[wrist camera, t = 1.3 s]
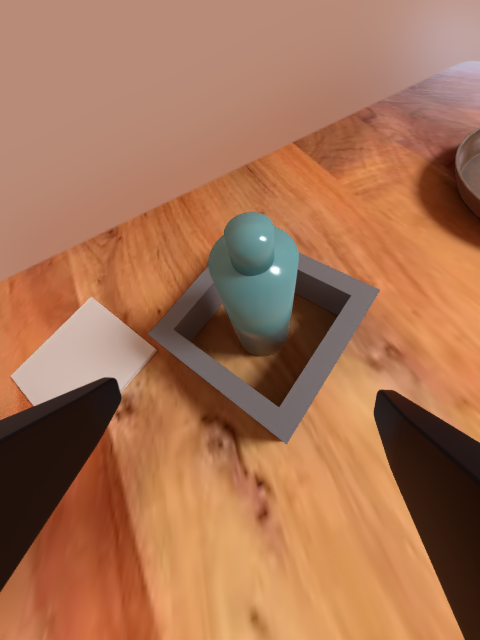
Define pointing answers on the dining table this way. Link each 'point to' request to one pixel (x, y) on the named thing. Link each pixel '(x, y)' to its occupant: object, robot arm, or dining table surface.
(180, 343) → the frame
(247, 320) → the teal bottle
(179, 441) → the dining table surface
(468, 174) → the plant saucer
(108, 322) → the white mat
